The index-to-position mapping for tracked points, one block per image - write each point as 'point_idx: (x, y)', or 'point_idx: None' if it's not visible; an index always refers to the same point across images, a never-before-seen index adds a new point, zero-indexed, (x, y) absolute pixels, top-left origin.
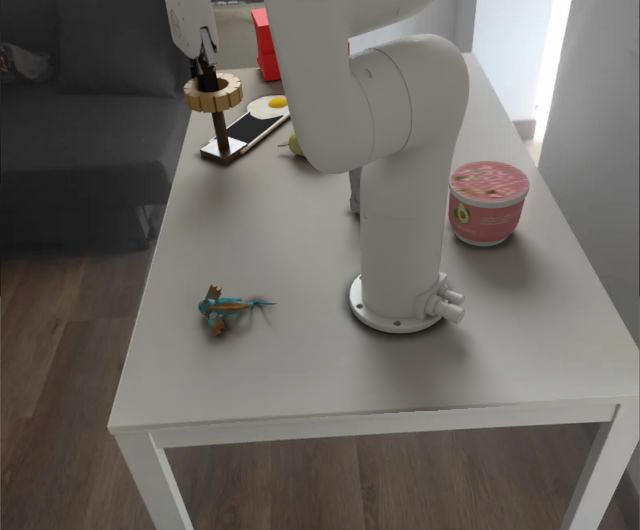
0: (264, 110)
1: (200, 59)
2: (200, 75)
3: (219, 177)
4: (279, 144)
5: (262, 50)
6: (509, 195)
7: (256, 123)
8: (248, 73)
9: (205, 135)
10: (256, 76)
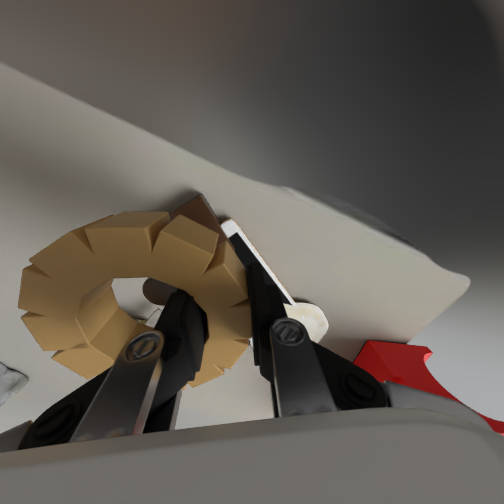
0: None
1: (269, 376)
2: (137, 335)
3: (107, 200)
4: (157, 313)
5: (404, 383)
6: None
7: None
8: (409, 329)
9: (273, 223)
10: (392, 334)
